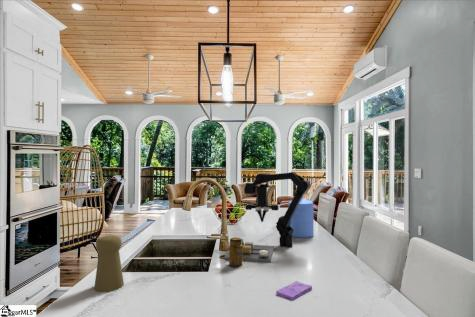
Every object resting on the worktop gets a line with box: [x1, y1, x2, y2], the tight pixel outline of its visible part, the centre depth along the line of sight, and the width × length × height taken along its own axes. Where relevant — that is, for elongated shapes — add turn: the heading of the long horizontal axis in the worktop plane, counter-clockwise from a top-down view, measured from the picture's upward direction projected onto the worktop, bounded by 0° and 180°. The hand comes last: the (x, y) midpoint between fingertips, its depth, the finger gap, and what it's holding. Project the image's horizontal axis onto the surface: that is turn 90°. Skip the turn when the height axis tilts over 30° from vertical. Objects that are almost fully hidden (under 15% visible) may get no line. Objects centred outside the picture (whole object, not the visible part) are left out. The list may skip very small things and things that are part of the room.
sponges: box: [275, 280, 313, 301], centre depth 113 cm, size 7×13×2 cm, turn 135°
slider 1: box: [244, 241, 254, 250], centre depth 162 cm, size 4×3×3 cm
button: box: [259, 250, 268, 257], centre depth 148 cm, size 4×4×2 cm
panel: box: [224, 241, 276, 263], centre depth 158 cm, size 22×23×4 cm
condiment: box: [225, 237, 247, 269], centre depth 142 cm, size 7×8×12 cm
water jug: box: [288, 196, 315, 239], centre depth 198 cm, size 16×16×28 cm
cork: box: [93, 234, 125, 293], centre depth 119 cm, size 10×10×19 cm
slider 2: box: [242, 246, 251, 254], centre depth 155 cm, size 4×3×3 cm
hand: (262, 221), depth 180 cm, fingers closed
